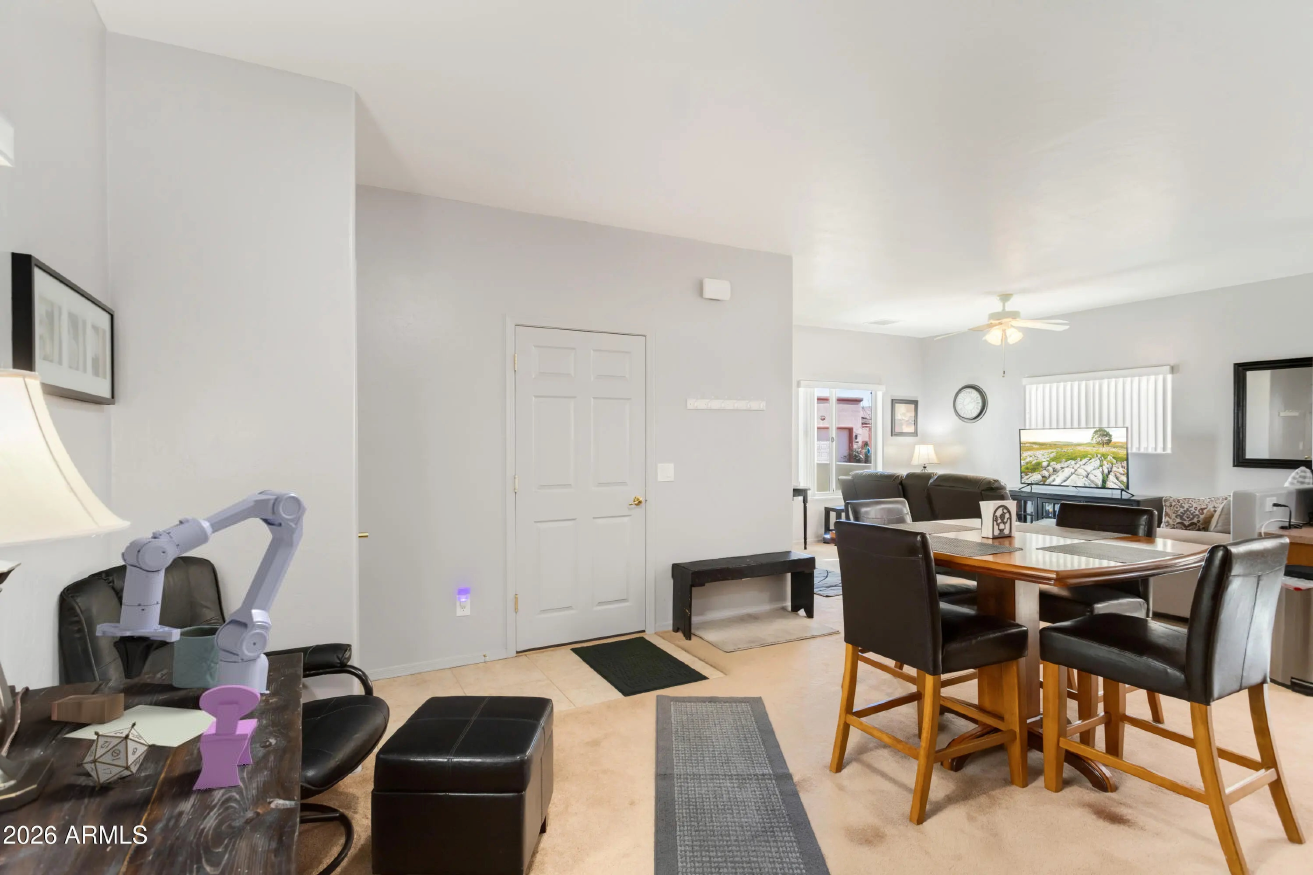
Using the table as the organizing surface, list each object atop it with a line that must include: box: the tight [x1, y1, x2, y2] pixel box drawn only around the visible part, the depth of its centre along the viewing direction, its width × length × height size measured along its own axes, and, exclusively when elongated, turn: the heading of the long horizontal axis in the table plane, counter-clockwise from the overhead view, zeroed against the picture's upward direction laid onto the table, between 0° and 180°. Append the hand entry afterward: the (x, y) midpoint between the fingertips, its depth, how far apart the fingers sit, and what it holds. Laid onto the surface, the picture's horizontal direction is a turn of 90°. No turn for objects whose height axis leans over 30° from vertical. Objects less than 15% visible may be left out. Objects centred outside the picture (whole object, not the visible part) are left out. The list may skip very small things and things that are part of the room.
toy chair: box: [192, 685, 261, 791], centre depth 105 cm, size 8×9×15 cm
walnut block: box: [51, 692, 125, 725], centre depth 120 cm, size 4×4×10 cm
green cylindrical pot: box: [171, 625, 222, 689], centre depth 143 cm, size 10×10×12 cm
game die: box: [74, 722, 158, 791], centre depth 101 cm, size 9×8×10 cm
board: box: [62, 704, 216, 748], centre depth 120 cm, size 16×20×1 cm
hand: (132, 677), depth 120 cm, fingers closed
